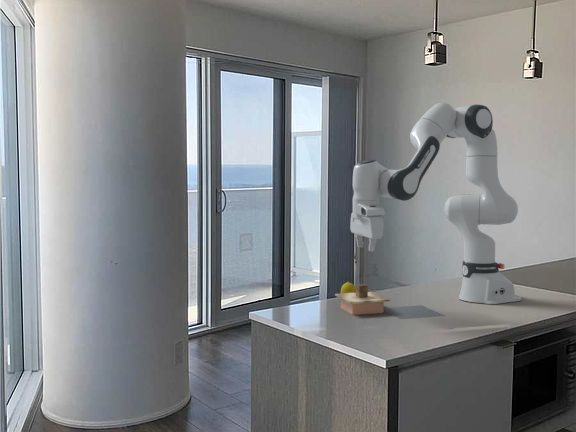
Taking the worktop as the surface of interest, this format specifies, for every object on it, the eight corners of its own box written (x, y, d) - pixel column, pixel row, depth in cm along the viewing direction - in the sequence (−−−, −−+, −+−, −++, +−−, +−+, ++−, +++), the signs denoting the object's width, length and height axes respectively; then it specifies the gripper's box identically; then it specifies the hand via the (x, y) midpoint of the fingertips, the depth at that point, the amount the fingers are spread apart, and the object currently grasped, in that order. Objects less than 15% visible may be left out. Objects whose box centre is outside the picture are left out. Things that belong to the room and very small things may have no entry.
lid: (372, 293, 220) (372, 280, 219) (389, 301, 206) (389, 287, 206) (335, 295, 216) (335, 282, 216) (349, 303, 202) (350, 289, 202)
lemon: (355, 305, 223) (355, 283, 222) (339, 304, 224) (339, 282, 223) (356, 302, 228) (356, 280, 228) (341, 301, 229) (341, 280, 229)
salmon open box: (370, 308, 218) (370, 294, 218) (383, 315, 208) (383, 300, 207) (340, 310, 215) (340, 296, 215) (352, 317, 205) (352, 302, 204)
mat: (421, 308, 219) (421, 305, 219) (445, 318, 203) (445, 315, 203) (379, 310, 214) (379, 308, 214) (400, 322, 199) (400, 318, 199)
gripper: (345, 206, 219) (345, 245, 221) (368, 211, 200) (368, 254, 201) (362, 205, 221) (362, 244, 222) (387, 210, 201) (386, 253, 203)
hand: (365, 249), depth 212 cm, fingers open, 8 cm apart
